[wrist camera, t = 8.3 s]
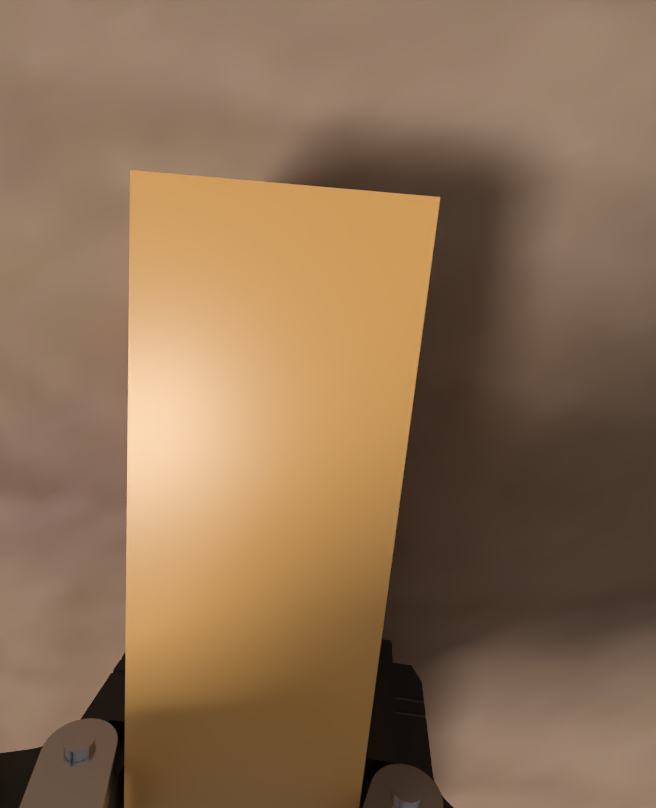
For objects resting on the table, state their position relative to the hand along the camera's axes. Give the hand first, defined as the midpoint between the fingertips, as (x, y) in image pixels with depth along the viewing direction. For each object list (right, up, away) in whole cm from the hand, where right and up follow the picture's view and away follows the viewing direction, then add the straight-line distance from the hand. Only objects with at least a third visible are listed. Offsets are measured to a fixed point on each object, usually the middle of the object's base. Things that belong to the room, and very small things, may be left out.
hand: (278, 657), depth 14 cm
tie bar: (0, 0, -1) cm, 1 cm away
